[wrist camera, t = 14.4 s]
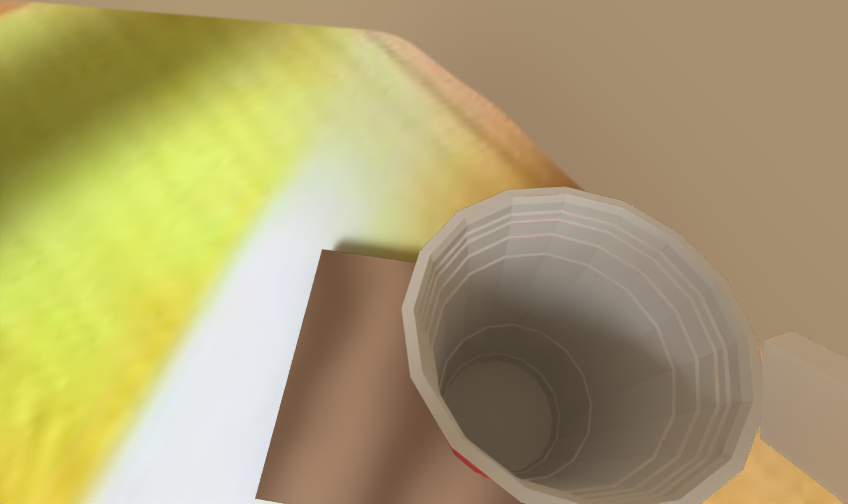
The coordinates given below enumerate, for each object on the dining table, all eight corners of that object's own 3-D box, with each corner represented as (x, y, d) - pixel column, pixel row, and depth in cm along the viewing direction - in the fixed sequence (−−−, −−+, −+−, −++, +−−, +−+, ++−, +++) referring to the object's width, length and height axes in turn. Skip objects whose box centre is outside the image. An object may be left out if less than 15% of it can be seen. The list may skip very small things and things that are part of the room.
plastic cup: (546, 286, 29) (648, 145, 19) (643, 486, 25) (849, 444, 14) (359, 339, 27) (357, 209, 16) (427, 574, 22) (487, 601, 12)
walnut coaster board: (263, 499, 25) (255, 498, 24) (326, 260, 31) (322, 249, 30) (530, 545, 25) (537, 547, 23) (544, 292, 30) (550, 282, 29)
